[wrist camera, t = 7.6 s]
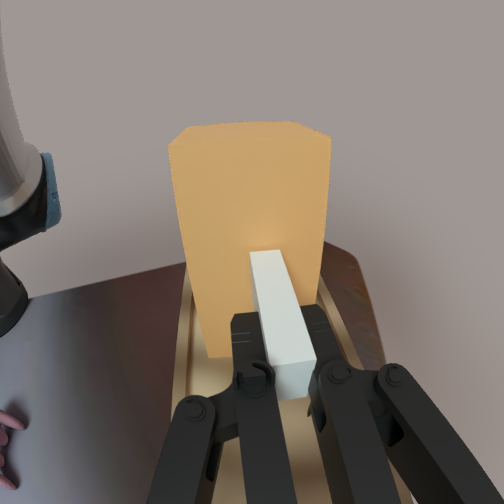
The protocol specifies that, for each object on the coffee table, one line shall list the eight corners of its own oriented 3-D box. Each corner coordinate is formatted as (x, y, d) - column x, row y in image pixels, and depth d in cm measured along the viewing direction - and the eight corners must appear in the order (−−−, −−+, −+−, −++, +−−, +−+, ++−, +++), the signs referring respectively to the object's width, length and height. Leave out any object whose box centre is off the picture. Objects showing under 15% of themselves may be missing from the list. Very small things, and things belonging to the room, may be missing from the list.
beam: (196, 273, 33) (188, 222, 29) (295, 264, 34) (298, 213, 30) (198, 579, 6) (165, 602, 2) (390, 546, 7) (445, 545, 3)
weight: (209, 293, 24) (186, 127, 16) (288, 286, 24) (292, 121, 17) (208, 358, 18) (168, 145, 10) (307, 347, 19) (331, 137, 11)
